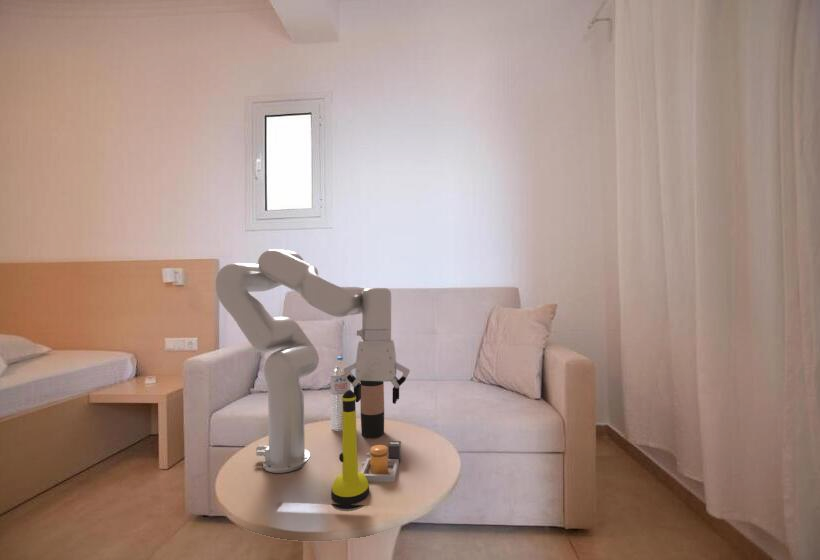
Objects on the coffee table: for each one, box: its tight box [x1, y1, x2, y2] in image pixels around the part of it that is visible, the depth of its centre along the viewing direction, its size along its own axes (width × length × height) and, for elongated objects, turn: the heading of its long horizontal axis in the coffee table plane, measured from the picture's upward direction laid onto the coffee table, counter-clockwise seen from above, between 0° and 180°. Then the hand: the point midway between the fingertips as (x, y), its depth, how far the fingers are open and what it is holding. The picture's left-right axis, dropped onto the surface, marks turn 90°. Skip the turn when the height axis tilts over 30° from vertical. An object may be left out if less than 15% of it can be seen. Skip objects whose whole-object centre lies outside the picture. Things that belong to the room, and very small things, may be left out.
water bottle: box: [329, 356, 351, 432], centre depth 120 cm, size 7×7×25 cm
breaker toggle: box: [387, 440, 402, 464], centre depth 96 cm, size 3×3×5 cm
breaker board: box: [360, 451, 400, 483], centre depth 93 cm, size 14×14×3 cm
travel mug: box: [359, 380, 385, 440], centre depth 114 cm, size 8×8×20 cm
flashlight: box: [330, 389, 370, 512], centre depth 82 cm, size 25×9×9 cm
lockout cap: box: [369, 444, 389, 474], centre depth 90 cm, size 4×4×6 cm
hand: (376, 401), depth 92 cm, fingers open, 9 cm apart
